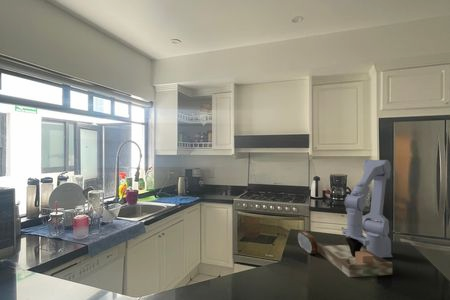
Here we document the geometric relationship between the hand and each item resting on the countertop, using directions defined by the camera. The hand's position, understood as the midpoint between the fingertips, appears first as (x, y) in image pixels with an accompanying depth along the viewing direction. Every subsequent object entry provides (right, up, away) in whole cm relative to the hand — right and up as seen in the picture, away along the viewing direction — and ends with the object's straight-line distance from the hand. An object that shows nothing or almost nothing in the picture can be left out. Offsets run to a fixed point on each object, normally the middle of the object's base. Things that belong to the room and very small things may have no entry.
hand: (355, 256), depth 102 cm
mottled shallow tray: (0, -4, +3) cm, 4 cm away
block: (0, -1, -6) cm, 6 cm away
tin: (-16, -4, +15) cm, 22 cm away
